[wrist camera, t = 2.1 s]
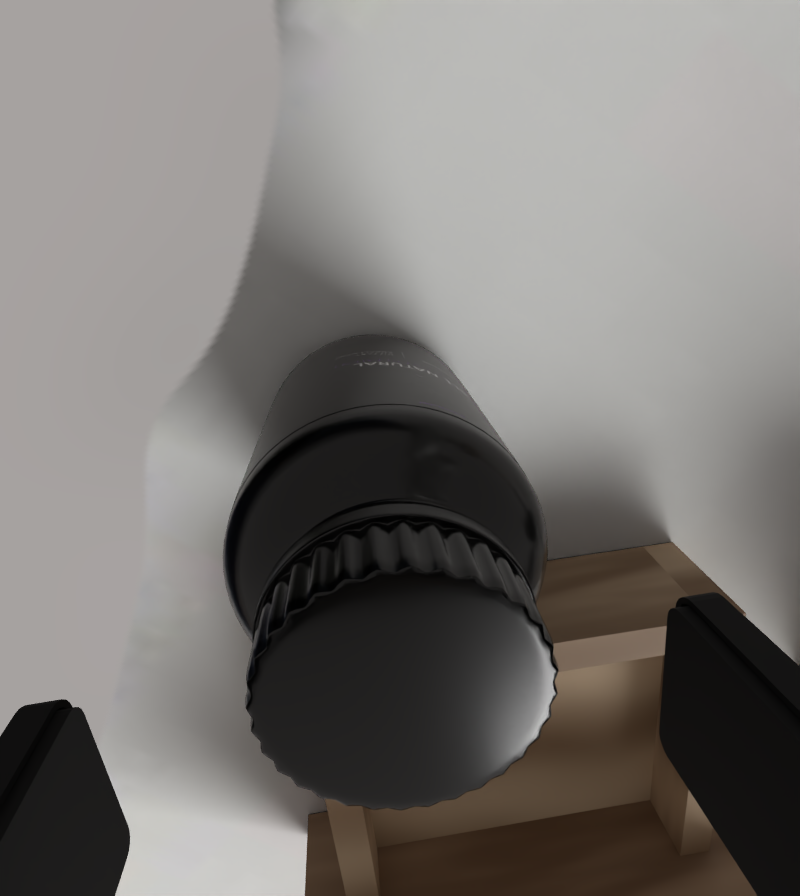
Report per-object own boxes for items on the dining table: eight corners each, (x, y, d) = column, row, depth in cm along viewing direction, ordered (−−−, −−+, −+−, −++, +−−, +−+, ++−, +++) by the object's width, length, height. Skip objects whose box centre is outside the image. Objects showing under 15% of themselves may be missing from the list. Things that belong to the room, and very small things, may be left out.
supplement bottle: (436, 299, 18) (592, 428, 7) (490, 482, 21) (664, 782, 10) (232, 370, 18) (80, 603, 7) (311, 543, 21) (285, 905, 10)
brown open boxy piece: (258, 603, 22) (179, 1005, 11) (716, 535, 23) (1075, 836, 12) (314, 838, 27) (299, 1274, 16) (687, 773, 28) (919, 1141, 17)
